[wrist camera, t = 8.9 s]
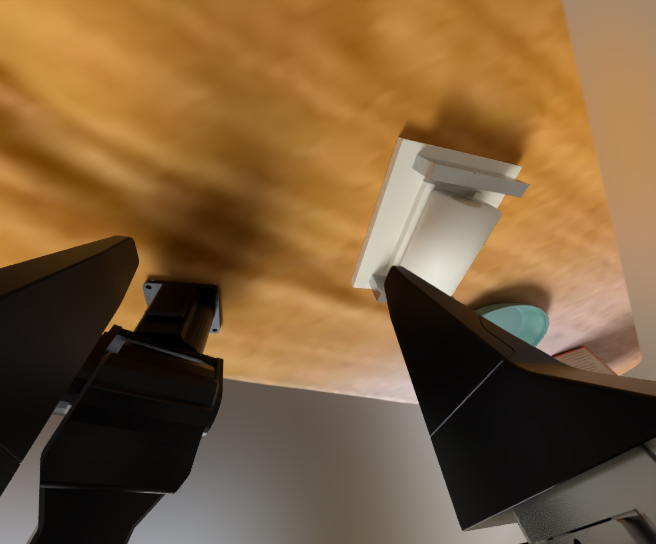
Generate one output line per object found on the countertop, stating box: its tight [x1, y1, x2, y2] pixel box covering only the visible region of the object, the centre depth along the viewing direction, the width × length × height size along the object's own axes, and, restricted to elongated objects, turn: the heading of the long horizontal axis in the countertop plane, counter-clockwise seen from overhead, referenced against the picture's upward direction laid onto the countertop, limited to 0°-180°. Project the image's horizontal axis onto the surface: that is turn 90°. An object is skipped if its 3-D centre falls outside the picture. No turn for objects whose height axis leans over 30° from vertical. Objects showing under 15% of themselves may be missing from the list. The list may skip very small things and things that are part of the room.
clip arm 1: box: [369, 275, 454, 303], centre depth 26 cm, size 1×8×3 cm, turn 78°
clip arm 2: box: [412, 155, 530, 197], centre depth 19 cm, size 1×8×3 cm, turn 78°
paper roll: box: [400, 190, 502, 296], centre depth 22 cm, size 8×5×5 cm, turn 168°
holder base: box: [351, 137, 522, 289], centre depth 24 cm, size 14×11×2 cm
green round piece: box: [475, 303, 549, 347], centre depth 35 cm, size 15×15×3 cm
